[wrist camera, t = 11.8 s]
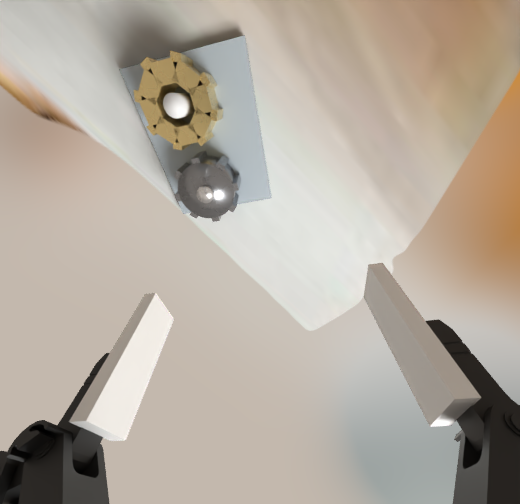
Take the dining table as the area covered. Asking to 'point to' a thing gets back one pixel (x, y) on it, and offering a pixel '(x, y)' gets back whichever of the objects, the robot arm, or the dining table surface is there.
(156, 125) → the gear
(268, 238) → the dining table surface
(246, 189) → the gear board
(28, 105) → the dining table surface
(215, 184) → the gear
